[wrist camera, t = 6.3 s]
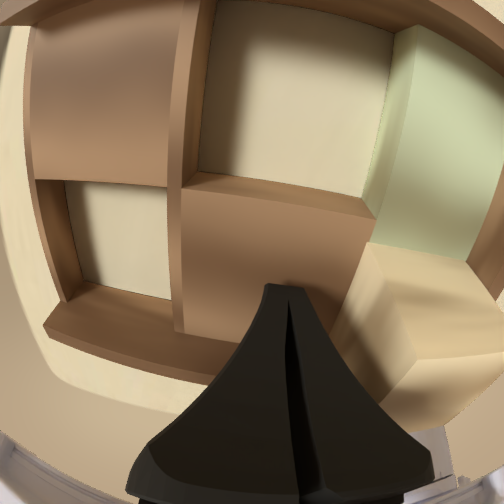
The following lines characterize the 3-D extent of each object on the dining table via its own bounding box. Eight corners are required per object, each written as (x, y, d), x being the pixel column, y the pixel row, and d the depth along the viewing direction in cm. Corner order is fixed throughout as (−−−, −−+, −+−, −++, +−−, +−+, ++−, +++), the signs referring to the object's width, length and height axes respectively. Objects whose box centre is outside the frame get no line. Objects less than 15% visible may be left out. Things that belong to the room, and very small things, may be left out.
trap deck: (402, 340, 15) (419, 394, 11) (81, 291, 15) (49, 337, 11) (503, 75, 6) (563, 87, 3) (63, 10, 6) (2, 4, 3)
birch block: (416, 341, 12) (443, 425, 7) (327, 337, 12) (338, 440, 7) (464, 260, 9) (523, 348, 5) (366, 242, 9) (417, 359, 5)
